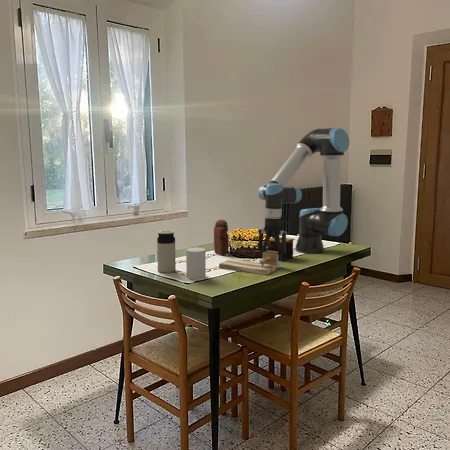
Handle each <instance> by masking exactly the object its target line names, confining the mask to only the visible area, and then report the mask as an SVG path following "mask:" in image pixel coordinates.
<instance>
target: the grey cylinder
mask: <svg viewBox="0 0 450 450" xmlns="http://www.w3.org/2000/svg"><path fill="white" fill-rule="evenodd" d="M206 253H207V252H206V249H205V248H203V247H189V248H186V253H185V254H186V256H185V257H186V264H185V266H186V278H187V279H189V280H193V279H194V280H195V281H196V280H203V279H206V275H207V274H206V270H207V269H206V268H207V267H206V266H207V265H206V260H207V259H206Z"/></svg>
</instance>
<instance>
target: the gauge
mask: <svg viewBox="0 0 450 450" xmlns="http://www.w3.org/2000/svg"><path fill="white" fill-rule="evenodd" d="M277 254H278V252H275V251H267V250H266V252H264V259H262V258H261V259H260V260H259V263H260V264H262V267H263V266H264V264H272V265H276V256H277Z"/></svg>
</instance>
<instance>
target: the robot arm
mask: <svg viewBox="0 0 450 450" xmlns="http://www.w3.org/2000/svg"><path fill="white" fill-rule="evenodd" d="M349 147H350V137H349V134H348V132H347V131H346V130H345V129H344V128H341V127H339V128H338V127H330V128H316V129H313V130H311V131H309V132H308V133H307V134H305V135H304V136H303V137H302V138H301V139H300V140H299V141H298V143H297V144H296V145H295V150H294V151H293V152H292V153H291V154H290V156H289V157H288V159H286V161H285V162H284V164H282V166H281V167H280V168H279V170H278V171H277V172H276V173H275V174H274V176H273V177H272V179H271V180H270V181H269V182H267V184H263V185H260V187H259V189H258V191H257V193H258V197H259V199H260V200H262V201H265V205H264V206H265V209H264V210H265V212H264V216H265V218H264V227H263V228H260V229H257V231H258V241H257V250H258V251H260V252H261V255H260V257H261V260H262V259H264V252H266V251H267V245H268V242H269V239H271V238H274V240H275V242H276V246H277V250H278V254H277V256H276V265H277V269H279V268H280V267H281V262H282V261H281V260H282V254H283V253H286V238H287V235H288V232H287V231H284V230H283V229H282V215H283V214H282V213H283V205H286V204H293V205H294V204H297V203H299V202H300V201H301V200H302V197H303V193H302V190H301V189H300V188H299V187H297V186H295V187H294V186H291V187H289V186H287V185H288V184H289V183H290V182H291V180H292V179H293V178H294V176H295V175H296V174H297V172H298V171H299V170H300V168H301V167H302V165H304V163H305V162H306V160H307V159H309V158H311V157H312V156H313V155H314V154H316V153H319V154H320V155H319V157H320V158H321V159H323V160H322V168H323V169H322V207H314V208H304V209H303V208H302V209H301V210H300V211H299V220H298V221H299V223H298V224H299V226H298V227H299V228H298V231H299V233H298V238H297V241H296V244H295V251H296V252H298V253H301V254H321V253H323V252H324V251H325V248H324V247H325V246H324V243H323V240H322V235H327V236H331V237H339V236H342V235H343V234H344V232H345V231H346V230H347V227H348V219H349V218H348V217H347V215H346V214H344V209H343V207H341V172H342V171H341V169H342V166H341V163H342V162H341V161H342V159H343V157H344V156H345V152H346V151H348V149H349ZM264 234H265V237H264ZM280 236H281V237H282V248H281V243H280V238H279V237H280Z"/></svg>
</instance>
